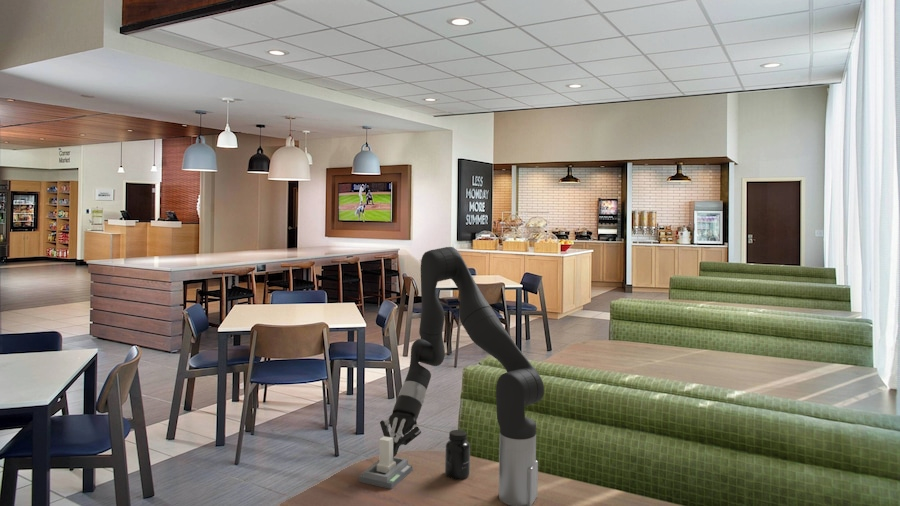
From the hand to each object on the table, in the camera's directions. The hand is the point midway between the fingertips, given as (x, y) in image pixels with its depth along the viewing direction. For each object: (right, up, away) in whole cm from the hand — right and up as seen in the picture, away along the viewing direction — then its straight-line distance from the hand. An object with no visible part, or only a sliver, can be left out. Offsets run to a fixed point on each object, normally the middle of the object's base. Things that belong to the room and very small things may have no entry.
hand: (389, 456), depth 169 cm
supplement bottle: (+19, -5, 0) cm, 20 cm away
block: (-1, -3, -1) cm, 3 cm away
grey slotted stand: (-1, -5, -1) cm, 5 cm away
